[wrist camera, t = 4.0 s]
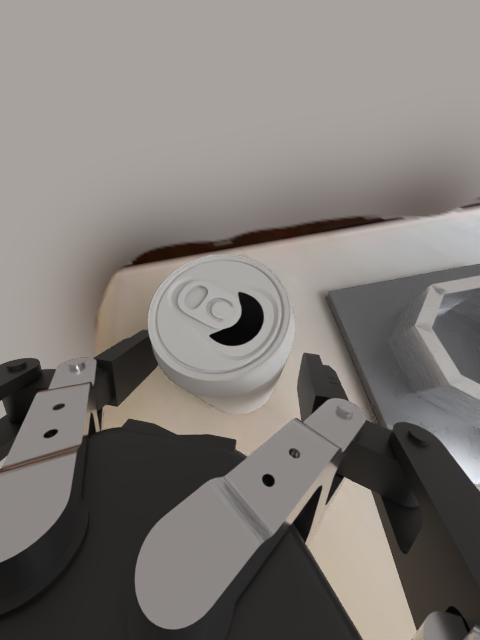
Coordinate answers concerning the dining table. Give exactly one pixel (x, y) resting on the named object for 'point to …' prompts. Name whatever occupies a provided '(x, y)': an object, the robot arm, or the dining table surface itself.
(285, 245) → the dining table surface
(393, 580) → the dining table surface
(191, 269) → the beverage can
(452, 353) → the collar stand
